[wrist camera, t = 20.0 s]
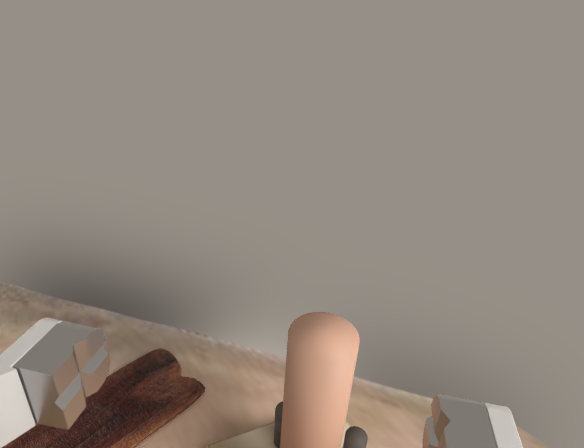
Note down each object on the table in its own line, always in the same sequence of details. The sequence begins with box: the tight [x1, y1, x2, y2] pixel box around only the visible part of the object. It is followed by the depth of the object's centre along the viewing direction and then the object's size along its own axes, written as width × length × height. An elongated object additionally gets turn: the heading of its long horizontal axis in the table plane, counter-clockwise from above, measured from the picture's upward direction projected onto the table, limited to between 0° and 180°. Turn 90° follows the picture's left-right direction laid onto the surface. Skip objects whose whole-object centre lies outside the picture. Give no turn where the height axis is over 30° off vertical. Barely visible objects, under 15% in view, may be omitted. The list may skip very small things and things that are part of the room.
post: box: [280, 312, 360, 448], centre depth 34 cm, size 5×5×18 cm
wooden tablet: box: [2, 349, 205, 448], centre depth 42 cm, size 26×2×10 cm
